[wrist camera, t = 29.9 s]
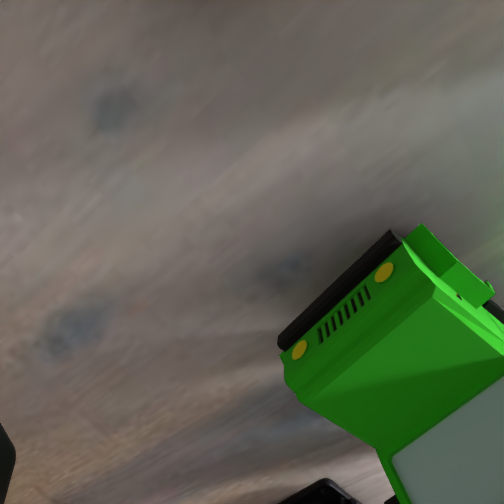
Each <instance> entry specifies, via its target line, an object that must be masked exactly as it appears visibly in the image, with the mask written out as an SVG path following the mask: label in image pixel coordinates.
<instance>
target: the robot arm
mask: <svg viewBox="0 0 504 504" xmlns="http://www.w3.org/2000/svg"><path fill="white" fill-rule="evenodd" d="M15 461H16V451H15V447H14V445H13V443H12V442H11V440H10V438H9V437H8V435H7V433H6V431H5V430H4V428H3V426H2V424H1V423H0V504H4V502H5V498H6V495H7V491H8V487H9V484H10V480H11V476H12V473H13V469H14V465H15ZM279 504H361V503H360V502H359V501H358V500H356V499H354V498H353V497H351V496H350V495H349V494H348V493H347V492H345V491H344V490H343V489H342V488H340V487H339V486H338V485H337V484H335V483H334V482H333V481H332V480H330V479H321V480H319V481H317V482H315V483H314V484H312V485H310V486H308V487H307V488H305V489H303V490H301V491H300V492H298V493H296V494H294V495H293V496H291V497H289V498H287V499H286V500H284V501H282V502H280V503H279Z"/></svg>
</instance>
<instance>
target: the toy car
mask: <svg viewBox="0 0 504 504" xmlns="http://www.w3.org/2000/svg"><path fill="white" fill-rule="evenodd" d="M494 295H495V292H494V290H493V288H492V286H491V284H490V283H489V282H488V281H485V282H484V283H483V282H482V281H481V280H480V279H479V278H478V277H477V276H475V275H474V274H473V273H472V272H471V271H470V270H469V269H467V268H466V267H465V266H464V265H463V264H462V263H461V262H459V261H458V260H457V259H456V258H455V257H454V256H453V254H452V253H451V252H450V251H449V250H448V249H447V248H446V247H445V246H444V245H443V244H442V243H441V242H440V241H439V240H438V239H437V238H436V237H435V236H434V235H433V234H432V233H431V232H430V231H429V230H428V229H427V228H426V227H425V226H424V225H423V224H422V223H421V224H420V225H419V226H417V227H416V228H415V229H414V230H413V231H412V232H411V233H410V234H409V235H408V236H407V237H406V238H405V239H404V238H402V237H400V236H399V235H398V234H396V233H395V232H394V231H393V230H392V229H389V230H388V231H387V232H386V233H385V234H384V235H383V236H382V237H381V238H380V239H379V240H378V241H377V242H376V243H375V244H374V245H373V246H371V247H370V248H369V249H368V250H367V251H366V252H365V253H364V254H363V255H362V256H361V257H360V258H359V259H358V260H357V261H356V262H355V263H354V264H353V265H352V266H351V267H349V268H348V269H347V270H346V271H345V272H344V273H343V274H342V275H341V276H340V277H339V278H338V279H337V280H336V281H335V282H334V283H333V284H332V285H331V286H330V287H328V288H327V289H326V290H325V291H324V292H323V293H322V294H321V295H320V296H319V297H318V298H317V299H316V300H315V301H314V302H313V303H312V304H311V305H310V306H309V307H308V308H306V309H305V310H304V311H303V312H302V313H301V314H300V315H299V316H298V317H297V318H296V319H295V320H294V321H293V322H292V323H291V324H290V325H289V326H288V327H287V328H285V329H284V330H283V331H282V332H281V333H280V334H279V335H278V340H277V345H278V347H279V348H280V349H282V350H283V352H282V353H281V354H280V355H279V356H280V358H281V360H282V362H283V364H284V379H285V382H286V384H287V386H288V387H289V388H290V389H291V390H292V391H293V392H295V394H296V397H297V399H298V400H299V401H300V403H302V404H304V405H305V406H307V407H308V408H310V409H312V410H313V411H315V412H317V413H318V414H320V415H321V416H323V417H325V418H326V419H328V420H329V421H331V422H333V423H334V424H336V425H338V426H339V427H341V428H342V429H344V430H346V431H347V432H349V433H351V434H352V435H354V436H355V437H357V438H359V439H360V440H362V441H363V442H365V443H367V444H368V445H370V446H372V447H373V448H375V449H376V452H377V454H378V457H379V460H380V462H381V464H382V466H383V468H384V471H385V473H386V475H387V477H388V479H389V481H390V483H391V485H392V488H393V490H394V492H395V495H394V496H393V497H391V498H390V499H388V500H387V501H385V502H384V504H504V310H503V309H502V308H500V307H499V306H498V305H497V304H496V303H494V302H493V301H491V300H489V299H490V298H491V297H493V296H494Z"/></svg>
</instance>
